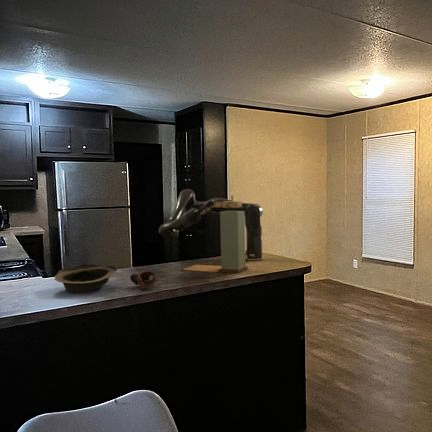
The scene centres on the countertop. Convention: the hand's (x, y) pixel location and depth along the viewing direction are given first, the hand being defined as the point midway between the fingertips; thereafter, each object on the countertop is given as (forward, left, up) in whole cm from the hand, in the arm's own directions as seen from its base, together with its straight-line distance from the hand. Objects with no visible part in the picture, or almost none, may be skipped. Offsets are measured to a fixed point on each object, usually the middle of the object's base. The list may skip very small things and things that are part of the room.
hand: (214, 201), depth 232 cm
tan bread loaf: (+4, +4, -3) cm, 6 cm away
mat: (-4, -5, -36) cm, 36 cm away
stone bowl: (+16, -63, -36) cm, 74 cm away
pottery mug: (+24, -40, -36) cm, 59 cm away
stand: (+7, +7, -36) cm, 37 cm away
